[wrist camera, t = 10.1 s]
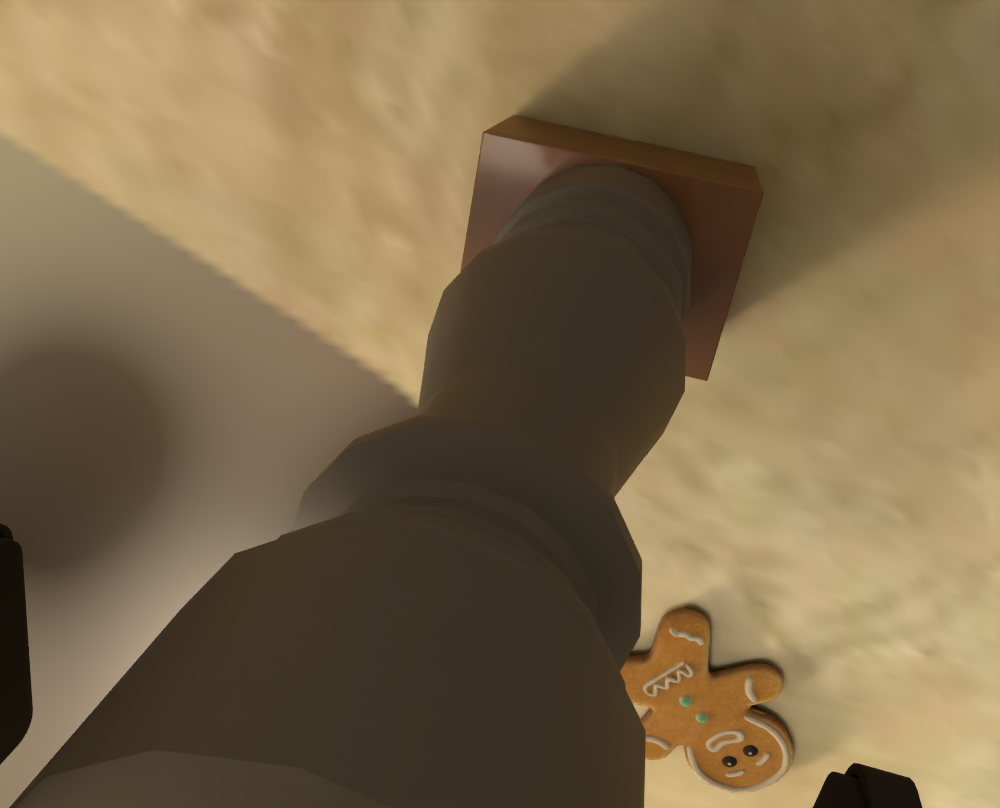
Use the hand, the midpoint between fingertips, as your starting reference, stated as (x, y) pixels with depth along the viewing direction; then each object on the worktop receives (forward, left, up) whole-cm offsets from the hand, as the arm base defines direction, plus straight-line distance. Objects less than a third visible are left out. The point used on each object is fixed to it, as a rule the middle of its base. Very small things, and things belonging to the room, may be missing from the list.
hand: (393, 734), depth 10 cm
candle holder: (0, 0, -22) cm, 22 cm away
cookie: (+21, +9, -27) cm, 35 cm away
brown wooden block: (0, 0, -27) cm, 27 cm away
